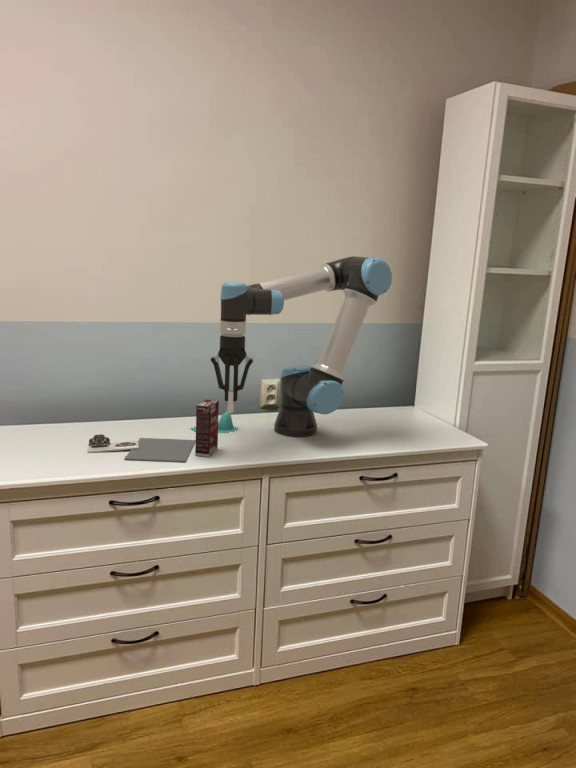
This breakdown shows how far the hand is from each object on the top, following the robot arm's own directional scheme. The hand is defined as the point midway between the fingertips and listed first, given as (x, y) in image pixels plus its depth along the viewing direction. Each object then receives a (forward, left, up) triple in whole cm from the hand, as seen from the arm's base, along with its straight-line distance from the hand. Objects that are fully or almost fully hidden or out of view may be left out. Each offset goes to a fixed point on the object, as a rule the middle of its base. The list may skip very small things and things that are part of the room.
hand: (230, 411), depth 185 cm
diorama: (+8, -25, -14) cm, 30 cm away
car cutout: (+36, 0, -13) cm, 38 cm away
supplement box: (+7, 0, -14) cm, 15 cm away
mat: (+21, 0, -14) cm, 25 cm away
